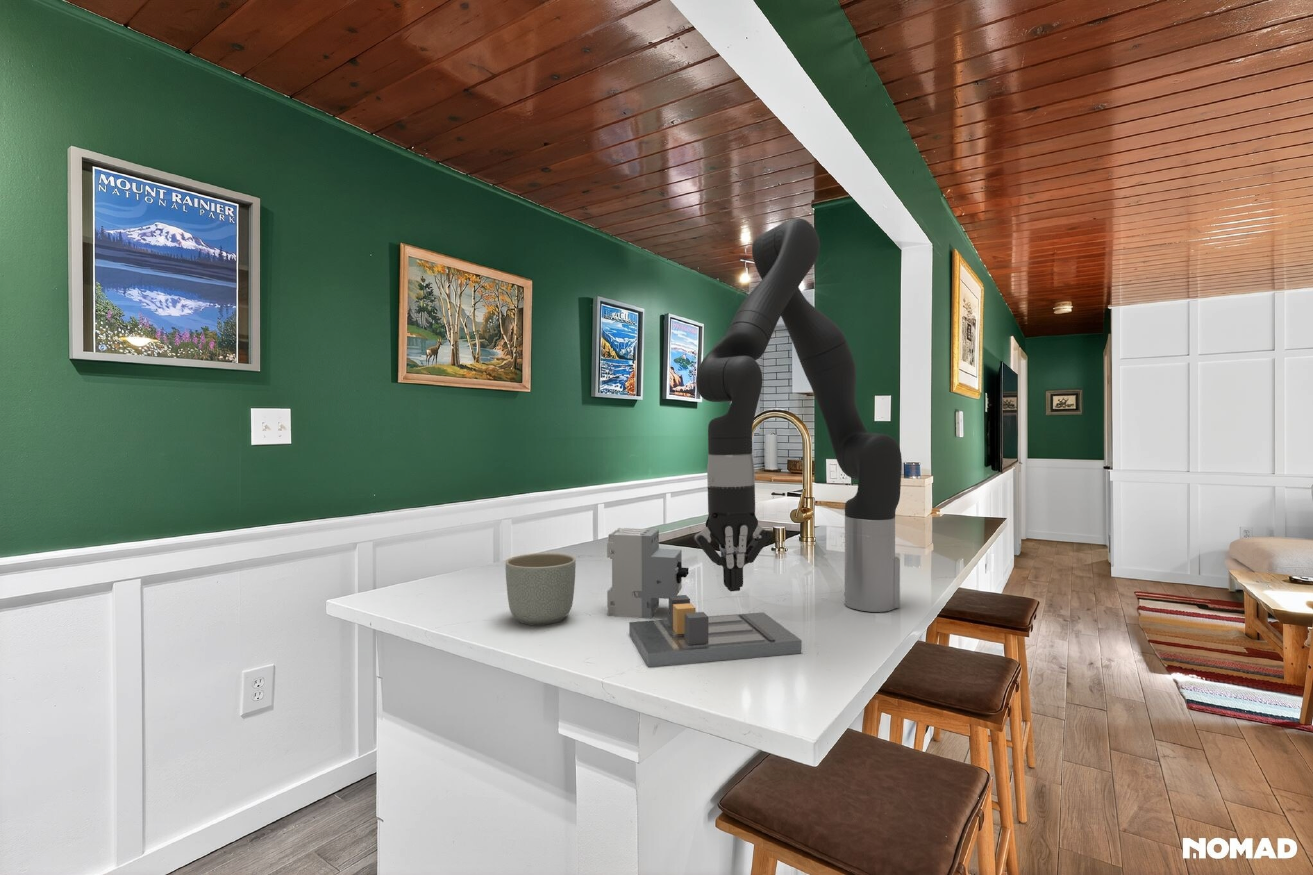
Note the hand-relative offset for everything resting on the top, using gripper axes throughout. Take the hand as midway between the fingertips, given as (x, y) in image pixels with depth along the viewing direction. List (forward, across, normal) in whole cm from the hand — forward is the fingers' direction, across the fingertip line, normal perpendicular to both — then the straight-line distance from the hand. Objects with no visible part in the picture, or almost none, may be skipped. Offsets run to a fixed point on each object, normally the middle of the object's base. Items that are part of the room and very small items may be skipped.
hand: (733, 589), depth 103 cm
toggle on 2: (+6, +8, +4) cm, 11 cm away
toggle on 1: (+6, +8, -6) cm, 11 cm away
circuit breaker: (+8, +9, -20) cm, 23 cm away
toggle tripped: (+6, +8, -1) cm, 10 cm away
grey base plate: (+8, +4, 0) cm, 9 cm away
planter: (+8, +29, -20) cm, 36 cm away
